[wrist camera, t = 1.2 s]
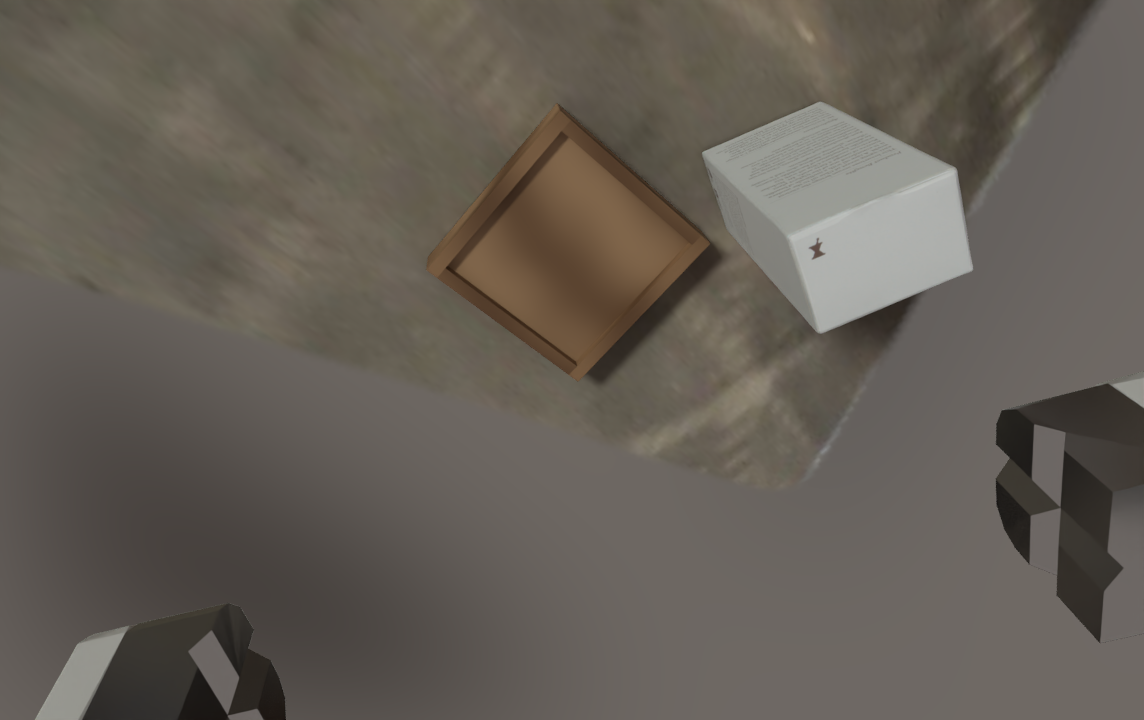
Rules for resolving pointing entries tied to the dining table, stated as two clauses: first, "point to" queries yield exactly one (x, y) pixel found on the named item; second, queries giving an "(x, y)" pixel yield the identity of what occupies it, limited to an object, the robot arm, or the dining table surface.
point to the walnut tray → (566, 246)
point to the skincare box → (840, 213)
